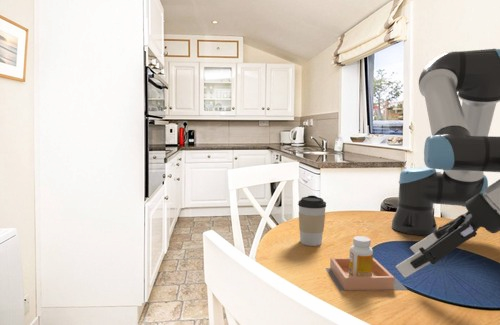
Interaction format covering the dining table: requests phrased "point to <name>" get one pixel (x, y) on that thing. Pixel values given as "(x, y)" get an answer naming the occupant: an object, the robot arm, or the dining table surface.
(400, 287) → the mat
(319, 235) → the coffee cup
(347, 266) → the dish
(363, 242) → the supplement bottle
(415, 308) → the dining table surface
